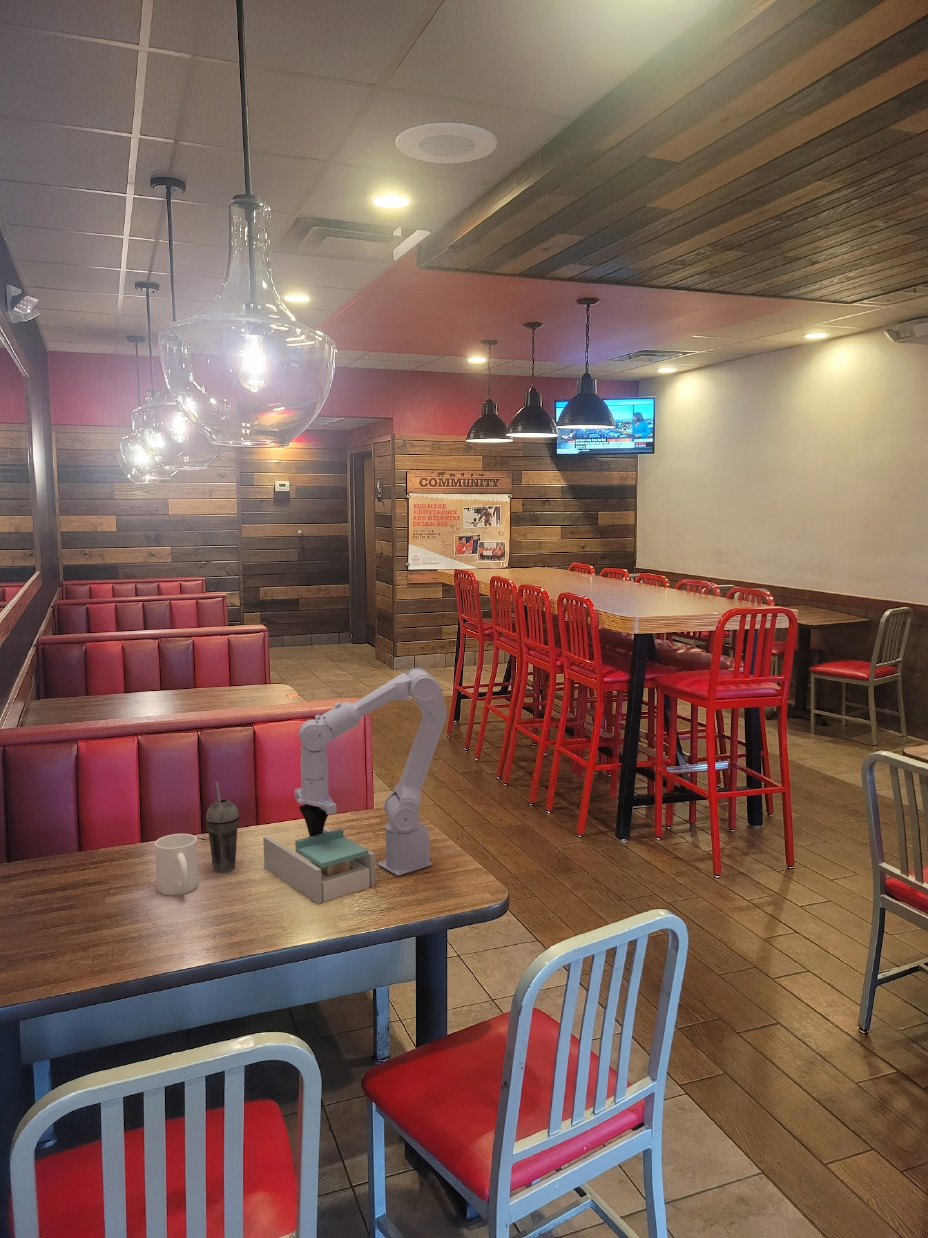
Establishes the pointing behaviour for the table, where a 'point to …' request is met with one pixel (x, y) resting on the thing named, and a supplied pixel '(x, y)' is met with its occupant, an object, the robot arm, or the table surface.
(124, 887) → the table surface
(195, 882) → the mug
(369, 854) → the housing
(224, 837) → the beverage cup
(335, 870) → the peg
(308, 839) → the lid
